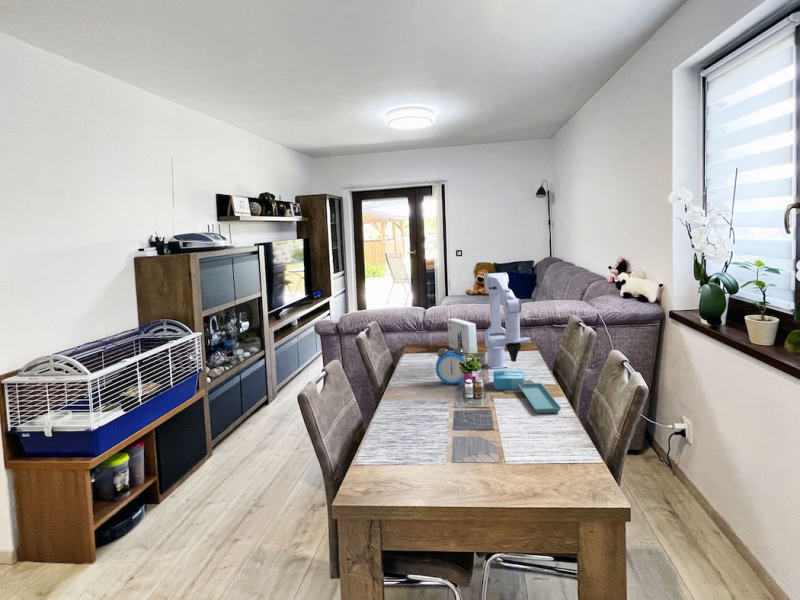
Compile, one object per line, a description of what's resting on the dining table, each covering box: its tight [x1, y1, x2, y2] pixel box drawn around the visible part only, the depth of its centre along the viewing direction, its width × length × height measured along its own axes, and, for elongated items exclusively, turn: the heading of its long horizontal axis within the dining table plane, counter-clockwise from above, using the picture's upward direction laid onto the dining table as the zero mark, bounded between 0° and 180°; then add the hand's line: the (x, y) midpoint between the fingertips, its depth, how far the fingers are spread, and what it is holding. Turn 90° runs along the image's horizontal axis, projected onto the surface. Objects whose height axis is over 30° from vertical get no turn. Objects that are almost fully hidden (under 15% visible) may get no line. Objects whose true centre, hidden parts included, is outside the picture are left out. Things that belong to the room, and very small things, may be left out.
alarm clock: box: [435, 347, 466, 385], centre depth 219 cm, size 13×6×15 cm, turn 85°
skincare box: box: [446, 317, 478, 354], centre depth 275 cm, size 21×5×16 cm, turn 25°
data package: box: [492, 369, 526, 390], centre depth 211 cm, size 12×4×12 cm
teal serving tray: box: [518, 382, 562, 414], centre depth 191 cm, size 26×9×2 cm, turn 0°
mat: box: [501, 379, 535, 395], centre depth 209 cm, size 13×15×1 cm
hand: (513, 361), depth 213 cm, fingers closed
